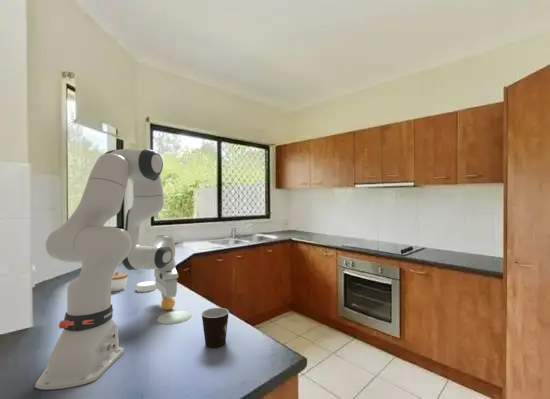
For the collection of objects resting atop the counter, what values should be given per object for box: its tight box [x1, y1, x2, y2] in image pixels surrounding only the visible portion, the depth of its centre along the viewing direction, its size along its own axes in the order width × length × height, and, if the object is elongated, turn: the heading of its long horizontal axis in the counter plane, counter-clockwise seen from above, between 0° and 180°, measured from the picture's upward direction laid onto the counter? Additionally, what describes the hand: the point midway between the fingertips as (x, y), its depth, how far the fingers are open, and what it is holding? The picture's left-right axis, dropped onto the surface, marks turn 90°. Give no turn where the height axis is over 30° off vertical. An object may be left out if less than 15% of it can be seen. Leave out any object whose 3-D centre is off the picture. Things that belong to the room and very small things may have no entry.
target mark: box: [156, 310, 192, 325], centre depth 114 cm, size 13×13×1 cm
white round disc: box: [136, 280, 157, 293], centre depth 153 cm, size 10×10×4 cm
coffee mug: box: [201, 307, 230, 349], centre depth 93 cm, size 12×9×10 cm
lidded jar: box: [111, 271, 128, 292], centre depth 153 cm, size 11×11×9 cm
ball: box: [161, 297, 176, 311], centre depth 123 cm, size 6×6×6 cm
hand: (165, 302), depth 126 cm, fingers closed
